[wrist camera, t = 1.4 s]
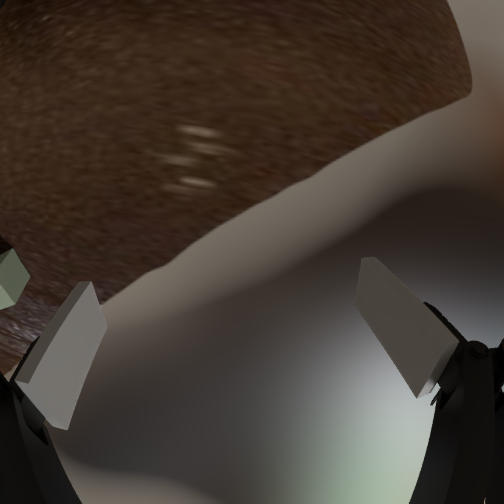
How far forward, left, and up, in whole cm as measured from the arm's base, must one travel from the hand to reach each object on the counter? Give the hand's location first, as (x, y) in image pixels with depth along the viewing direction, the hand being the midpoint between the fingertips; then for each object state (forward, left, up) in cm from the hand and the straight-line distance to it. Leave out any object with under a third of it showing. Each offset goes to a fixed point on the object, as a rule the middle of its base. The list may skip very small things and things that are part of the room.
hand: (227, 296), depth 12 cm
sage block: (+4, -37, -24) cm, 44 cm away
